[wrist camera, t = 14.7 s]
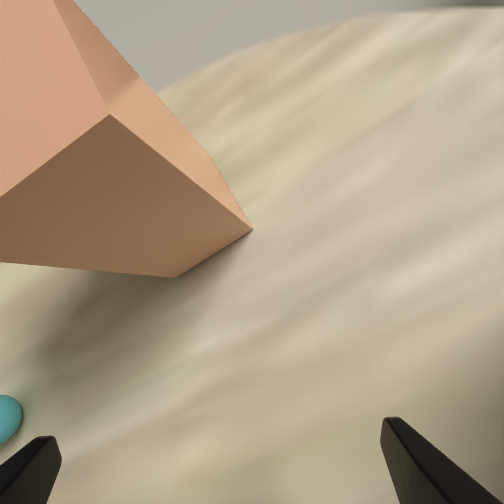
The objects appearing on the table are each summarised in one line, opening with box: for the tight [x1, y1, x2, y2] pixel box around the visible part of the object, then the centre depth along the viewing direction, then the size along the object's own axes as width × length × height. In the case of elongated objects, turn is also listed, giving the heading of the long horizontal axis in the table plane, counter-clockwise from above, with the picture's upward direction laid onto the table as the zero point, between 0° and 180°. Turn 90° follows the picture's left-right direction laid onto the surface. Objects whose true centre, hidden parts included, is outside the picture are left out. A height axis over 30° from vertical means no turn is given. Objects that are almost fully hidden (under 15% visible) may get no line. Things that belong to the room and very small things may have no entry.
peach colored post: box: [0, 0, 253, 278], centre depth 13 cm, size 6×6×12 cm
